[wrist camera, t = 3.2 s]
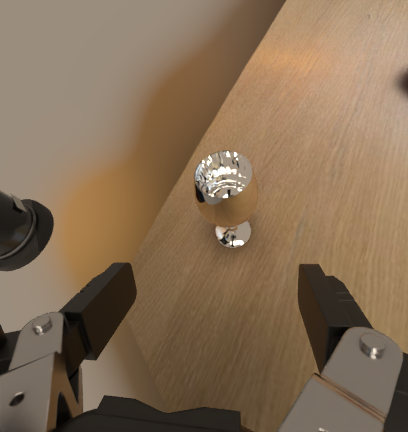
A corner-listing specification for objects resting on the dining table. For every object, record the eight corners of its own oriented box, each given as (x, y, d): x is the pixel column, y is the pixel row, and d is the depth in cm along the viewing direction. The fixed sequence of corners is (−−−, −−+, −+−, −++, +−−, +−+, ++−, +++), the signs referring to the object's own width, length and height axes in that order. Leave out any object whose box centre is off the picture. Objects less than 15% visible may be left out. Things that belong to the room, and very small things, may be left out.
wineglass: (254, 255, 27) (256, 207, 17) (206, 250, 29) (180, 202, 18) (258, 212, 30) (262, 145, 19) (213, 208, 31) (194, 145, 21)
